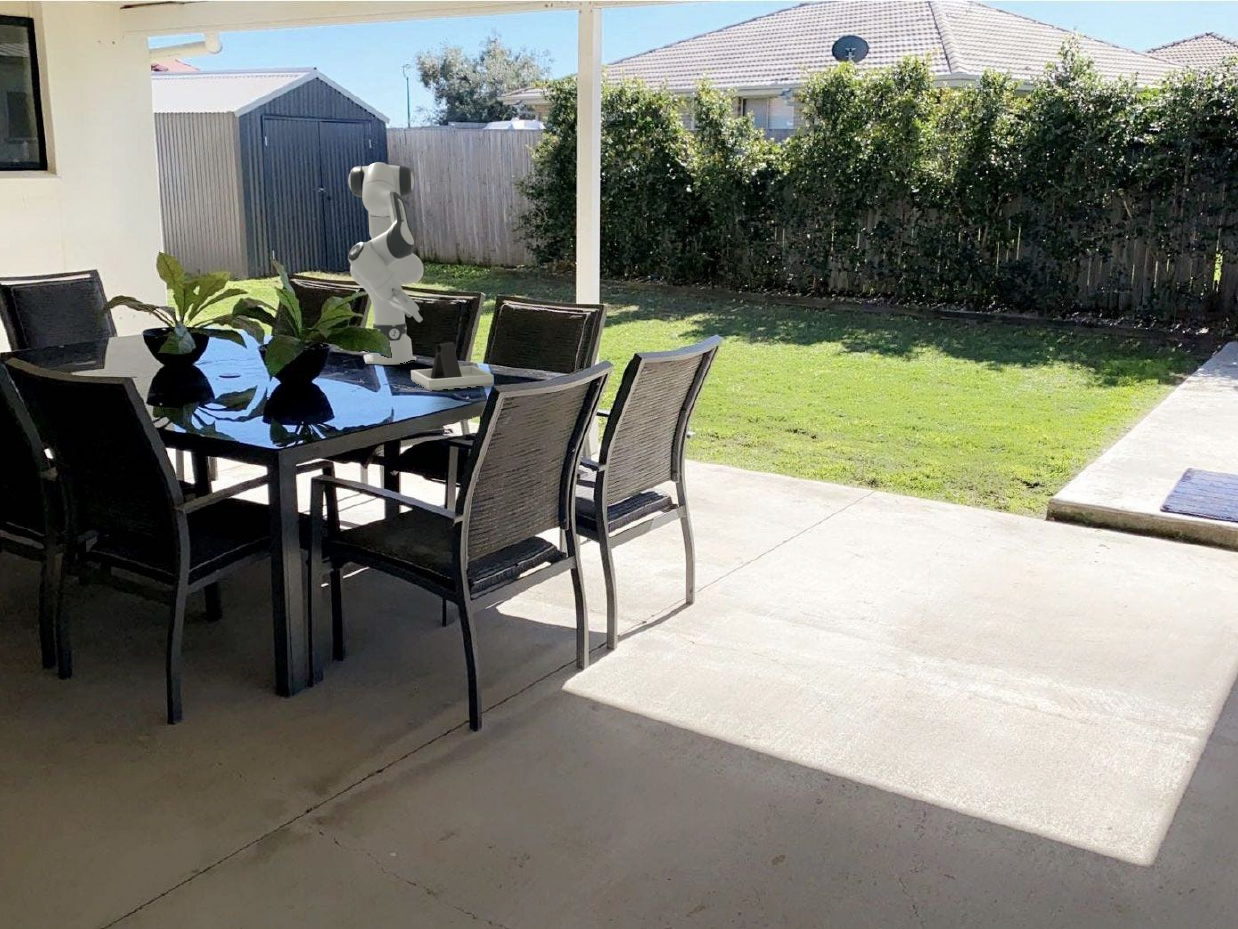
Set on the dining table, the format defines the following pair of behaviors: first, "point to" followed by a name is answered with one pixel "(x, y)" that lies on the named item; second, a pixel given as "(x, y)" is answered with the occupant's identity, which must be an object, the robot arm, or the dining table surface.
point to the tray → (453, 379)
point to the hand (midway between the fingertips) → (415, 318)
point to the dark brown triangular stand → (445, 362)
